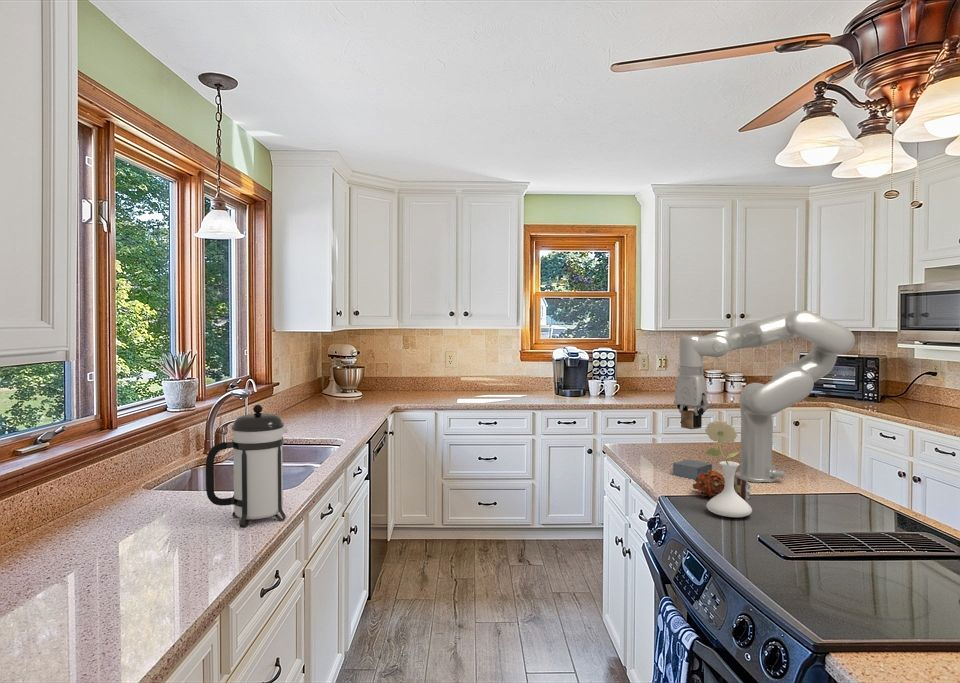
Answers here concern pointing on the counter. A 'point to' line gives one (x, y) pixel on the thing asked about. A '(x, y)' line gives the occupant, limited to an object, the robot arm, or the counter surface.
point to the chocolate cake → (742, 488)
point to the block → (688, 419)
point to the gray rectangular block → (690, 468)
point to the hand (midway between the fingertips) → (691, 425)
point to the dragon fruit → (710, 483)
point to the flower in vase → (726, 474)
